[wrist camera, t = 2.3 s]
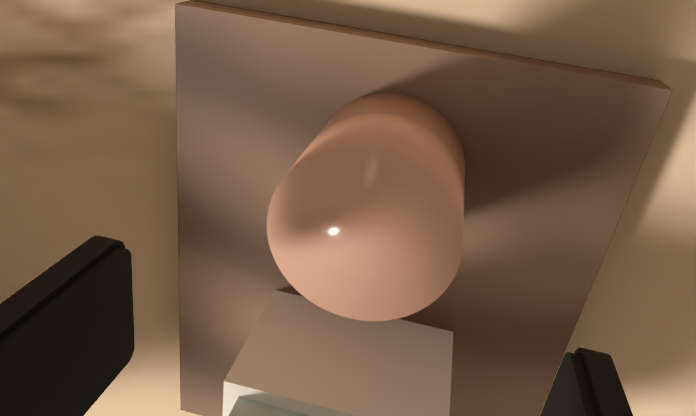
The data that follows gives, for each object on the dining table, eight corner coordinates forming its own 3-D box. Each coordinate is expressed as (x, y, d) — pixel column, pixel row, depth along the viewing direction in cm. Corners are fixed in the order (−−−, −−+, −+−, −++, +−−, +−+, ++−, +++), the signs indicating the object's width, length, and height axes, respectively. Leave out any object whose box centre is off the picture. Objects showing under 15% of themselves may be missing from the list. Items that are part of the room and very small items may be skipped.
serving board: (192, 0, 18) (175, 3, 17) (659, 80, 17) (672, 90, 15) (192, 390, 27) (180, 409, 26) (503, 472, 25) (504, 496, 24)
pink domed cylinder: (323, 79, 17) (273, 127, 13) (482, 108, 17) (485, 169, 12) (308, 217, 20) (261, 297, 15) (447, 246, 19) (439, 339, 15)
